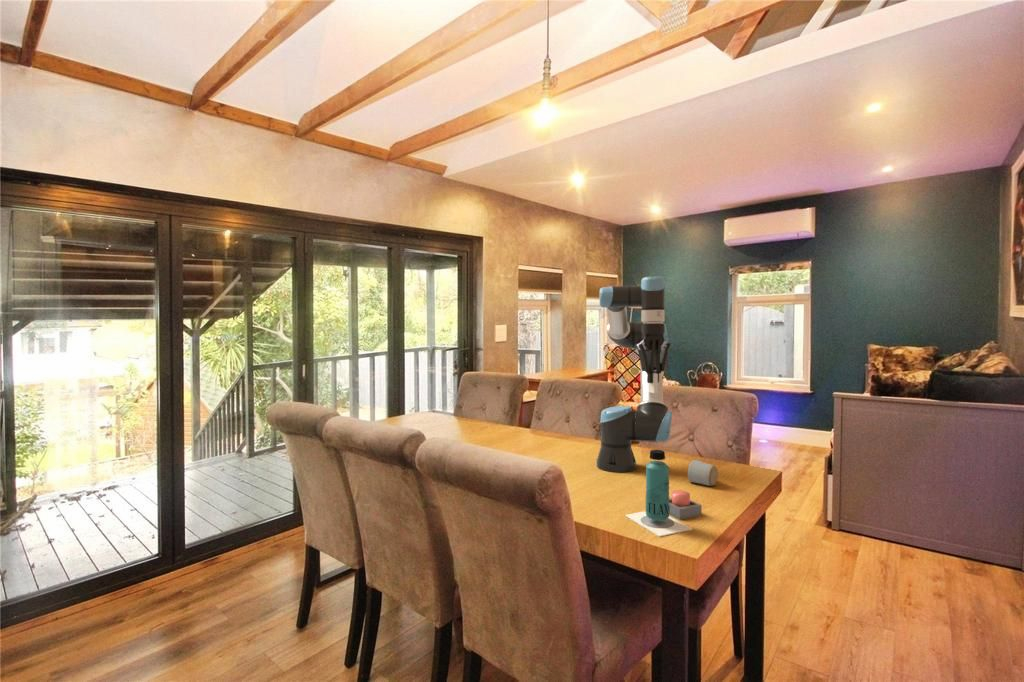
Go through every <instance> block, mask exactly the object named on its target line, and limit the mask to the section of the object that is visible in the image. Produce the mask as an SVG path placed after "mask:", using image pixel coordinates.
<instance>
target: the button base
mask: <svg viewBox="0 0 1024 682" xmlns="http://www.w3.org/2000/svg"><path fill="white" fill-rule="evenodd" d="M669 502H670V513H669V516H671V517H672V518H673V517H674V519H676V520H678V521H680V520H685V519H690V518H695V517H699V516H702V514H703V513H702V504H701V503H698V502H696V501H694V500H692V499H690V506H685V507H678V506H676V505H674V504H672V497H670V499H669Z"/></svg>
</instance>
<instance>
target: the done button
mask: <svg viewBox="0 0 1024 682" xmlns="http://www.w3.org/2000/svg"><path fill="white" fill-rule="evenodd" d="M671 498H672V504H674V505H676V506H678V507H685V506H690V500H691V495H690V493H689V492H688V491H685V490H677V489H676V490H673V491H671Z"/></svg>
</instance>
